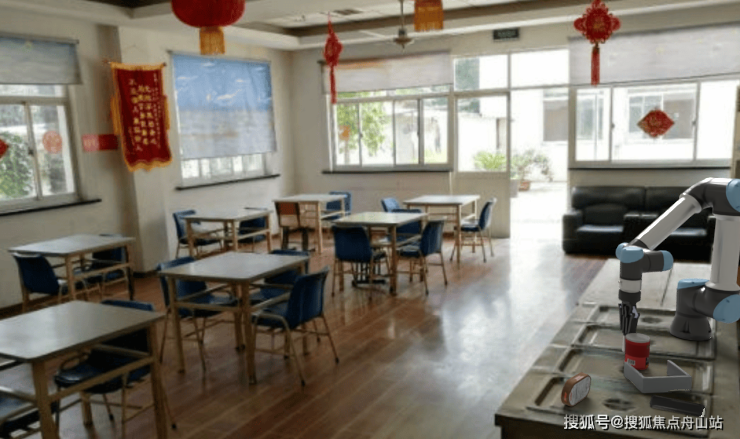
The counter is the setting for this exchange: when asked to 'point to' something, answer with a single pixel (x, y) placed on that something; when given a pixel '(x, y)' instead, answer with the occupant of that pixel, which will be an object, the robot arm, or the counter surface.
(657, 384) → the box
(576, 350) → the counter surface
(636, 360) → the canned food
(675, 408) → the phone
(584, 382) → the tin
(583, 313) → the counter surface
